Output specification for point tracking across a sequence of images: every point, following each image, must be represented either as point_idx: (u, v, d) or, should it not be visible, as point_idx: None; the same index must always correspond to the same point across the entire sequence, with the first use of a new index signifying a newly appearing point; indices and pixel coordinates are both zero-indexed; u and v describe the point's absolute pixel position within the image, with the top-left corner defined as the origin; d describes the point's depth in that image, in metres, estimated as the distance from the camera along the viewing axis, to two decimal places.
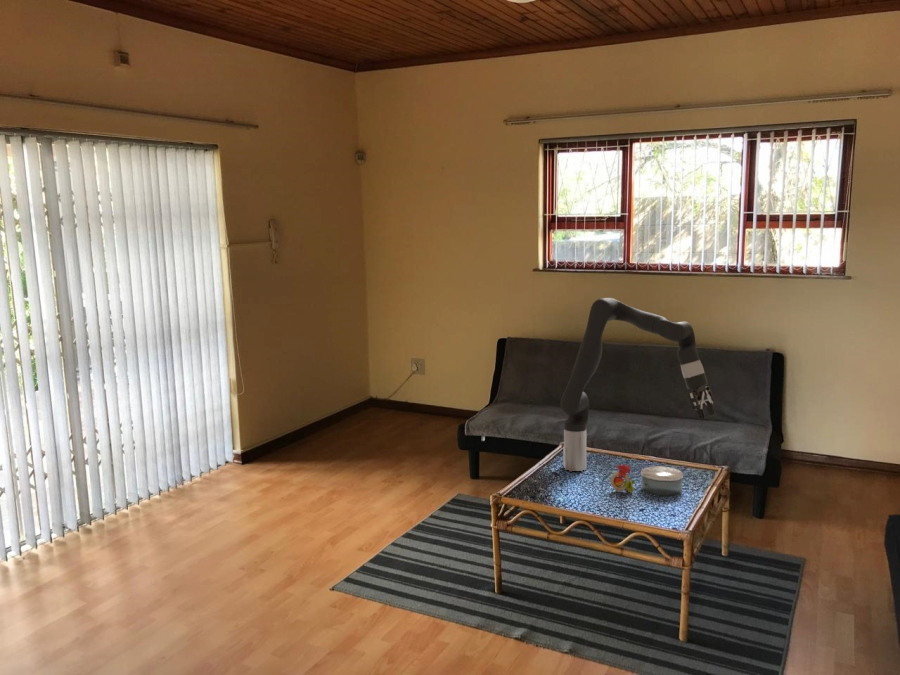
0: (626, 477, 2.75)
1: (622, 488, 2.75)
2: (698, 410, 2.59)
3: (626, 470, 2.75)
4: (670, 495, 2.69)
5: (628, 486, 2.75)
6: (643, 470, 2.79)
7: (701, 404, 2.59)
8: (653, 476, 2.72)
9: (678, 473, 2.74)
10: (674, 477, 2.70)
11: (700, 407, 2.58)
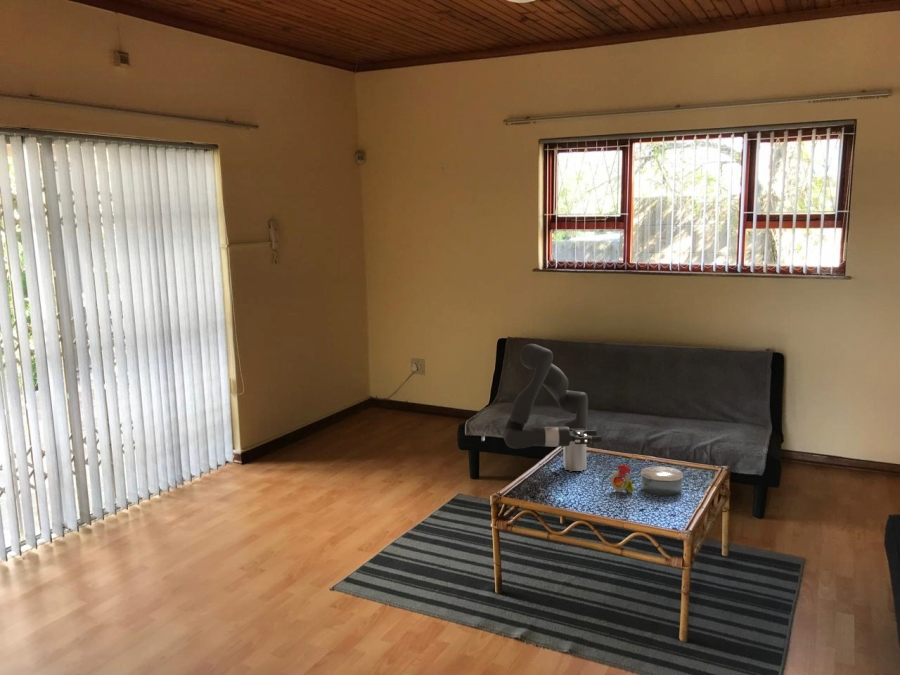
0: (626, 477, 2.75)
1: (622, 488, 2.75)
2: None
3: (626, 470, 2.75)
4: (670, 495, 2.69)
5: (628, 486, 2.75)
6: (643, 470, 2.79)
7: None
8: (653, 476, 2.72)
9: (678, 473, 2.74)
10: (674, 477, 2.70)
11: None
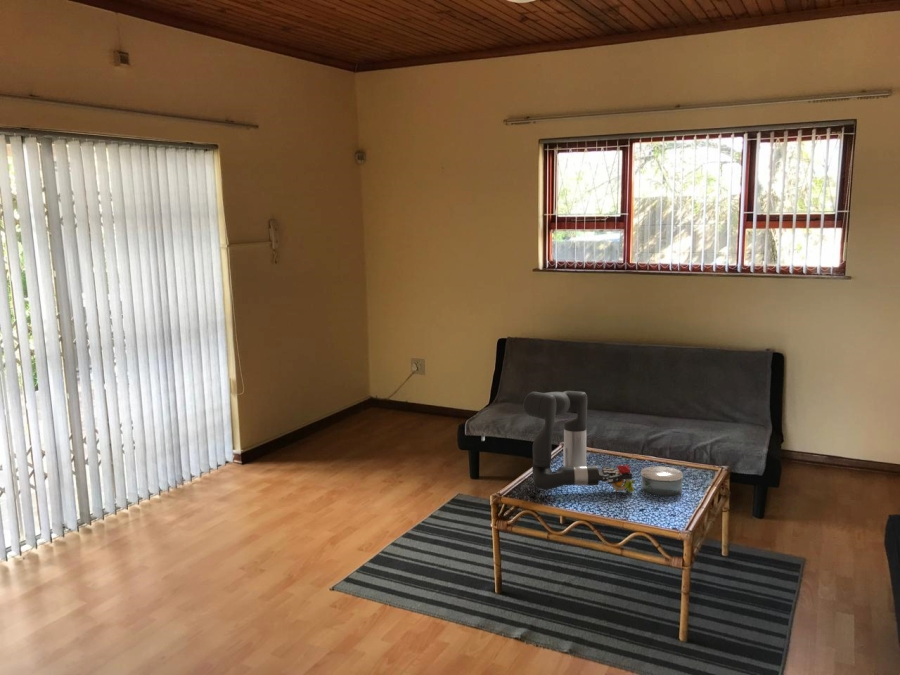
0: None
1: (622, 488, 2.75)
2: None
3: (626, 470, 2.74)
4: (670, 495, 2.69)
5: (628, 486, 2.75)
6: (643, 470, 2.79)
7: None
8: (653, 476, 2.72)
9: (678, 473, 2.74)
10: (674, 477, 2.70)
11: None
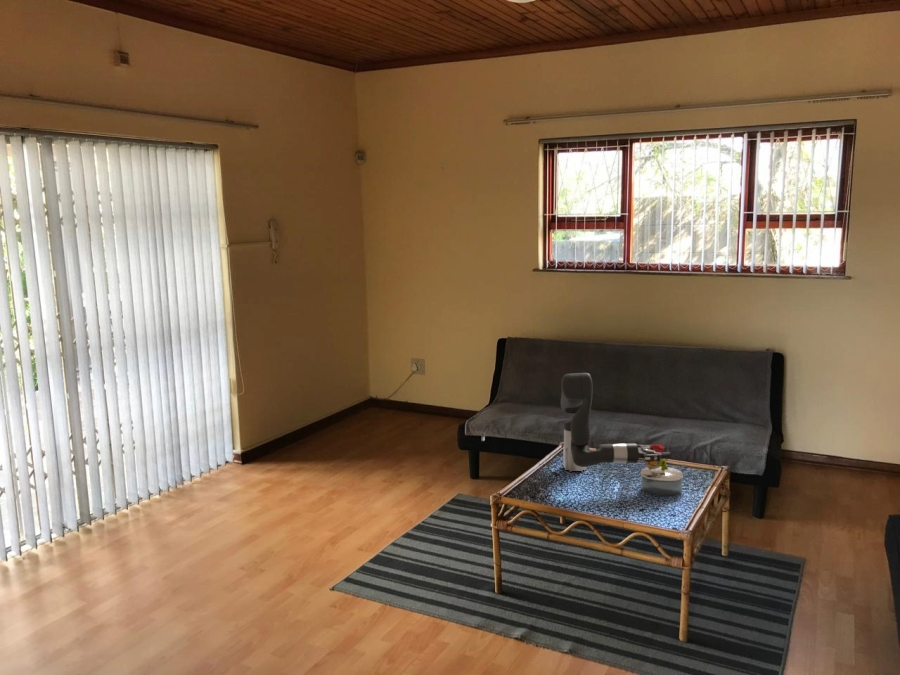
0: None
1: (656, 467, 2.77)
2: None
3: (660, 450, 2.76)
4: (670, 495, 2.69)
5: (662, 464, 2.77)
6: (643, 470, 2.79)
7: None
8: (653, 476, 2.72)
9: (678, 473, 2.74)
10: (674, 477, 2.70)
11: None
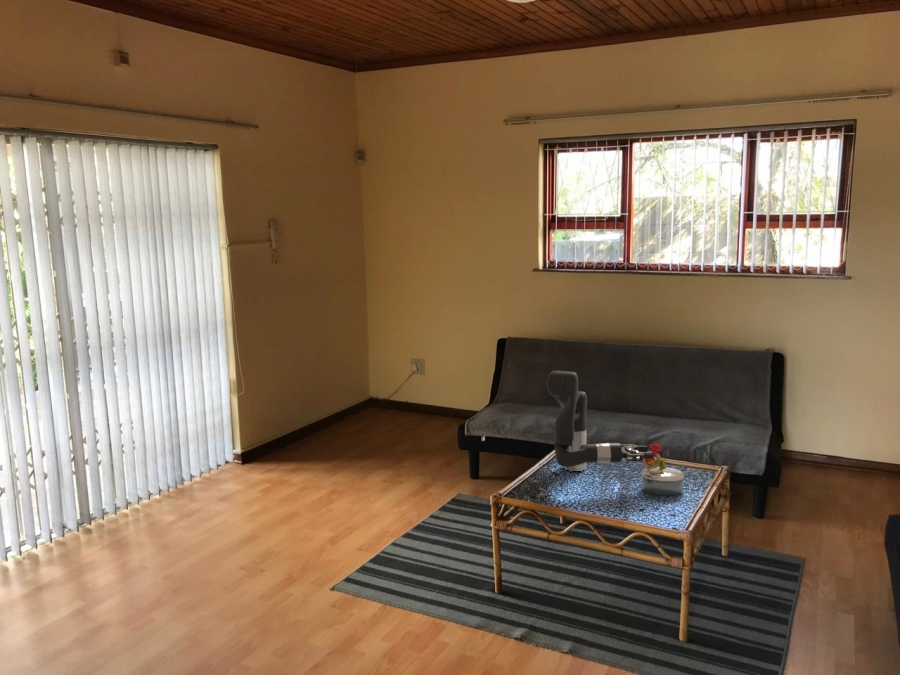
0: (658, 456, 2.77)
1: (654, 466, 2.78)
2: None
3: (658, 449, 2.77)
4: (671, 495, 2.69)
5: (660, 464, 2.78)
6: (644, 471, 2.78)
7: None
8: (654, 477, 2.71)
9: (679, 473, 2.74)
10: (675, 477, 2.70)
11: None
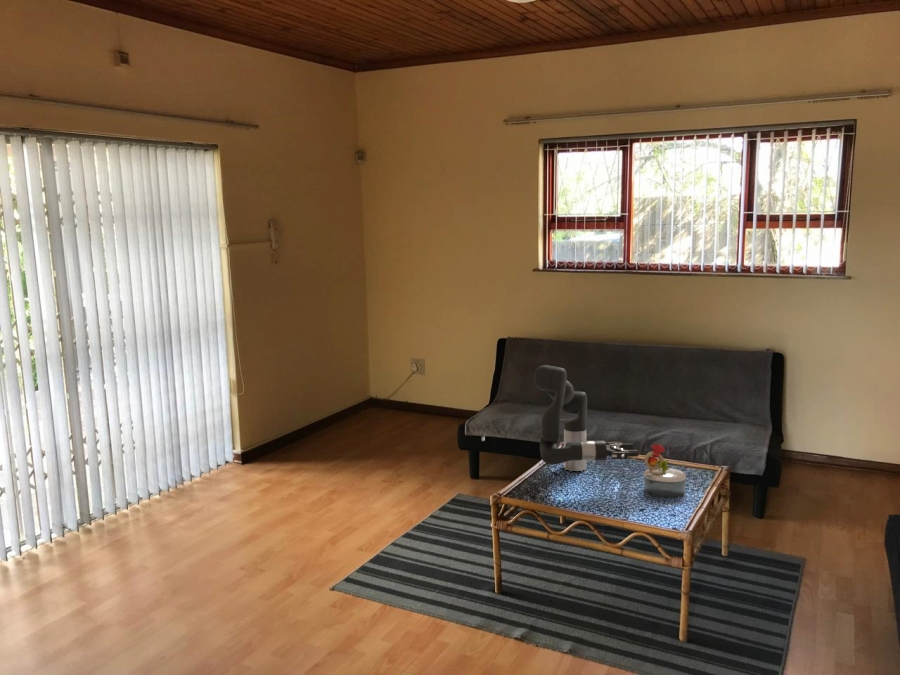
0: (660, 456, 2.76)
1: (656, 467, 2.77)
2: None
3: (660, 450, 2.77)
4: (673, 496, 2.68)
5: (662, 465, 2.77)
6: (646, 471, 2.77)
7: None
8: (656, 477, 2.70)
9: (681, 474, 2.73)
10: (677, 478, 2.69)
11: None
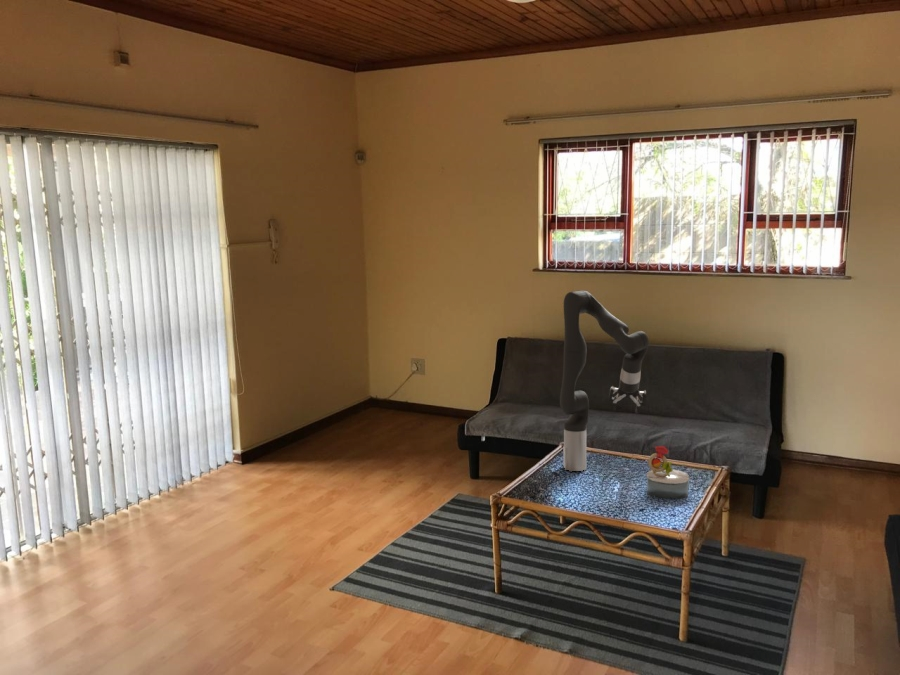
0: (664, 458, 2.75)
1: (660, 469, 2.75)
2: None
3: (664, 451, 2.75)
4: (677, 498, 2.67)
5: (666, 467, 2.75)
6: (649, 473, 2.76)
7: (616, 400, 2.86)
8: (659, 479, 2.69)
9: (684, 475, 2.72)
10: (681, 479, 2.67)
11: (613, 401, 2.87)
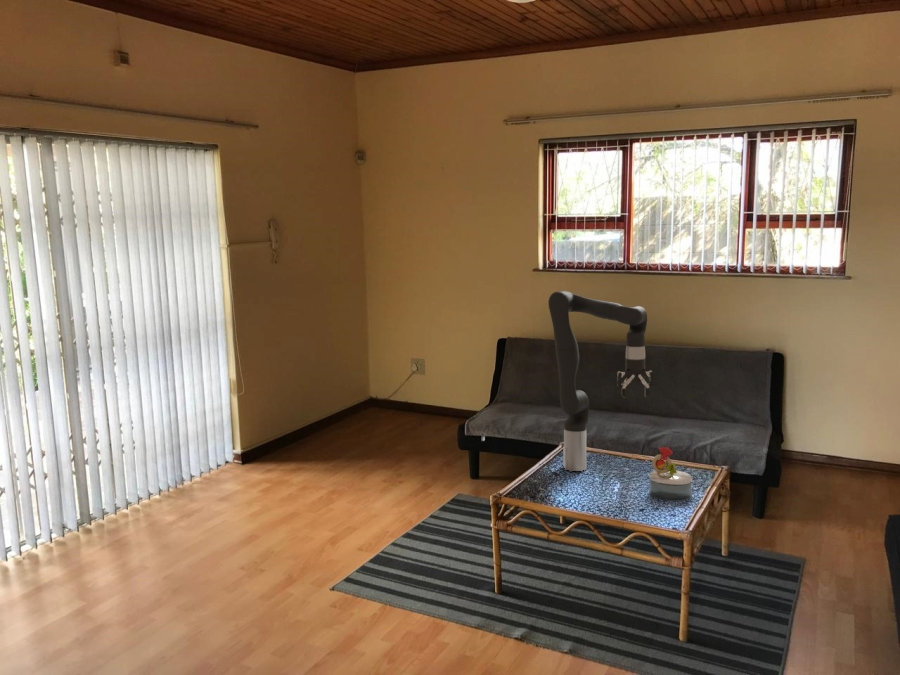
0: (668, 460, 2.73)
1: (664, 471, 2.73)
2: (621, 388, 2.87)
3: (668, 452, 2.73)
4: (680, 499, 2.65)
5: (670, 469, 2.73)
6: (651, 474, 2.75)
7: (625, 384, 2.85)
8: (662, 480, 2.67)
9: (687, 476, 2.71)
10: (684, 480, 2.66)
11: (622, 386, 2.86)
